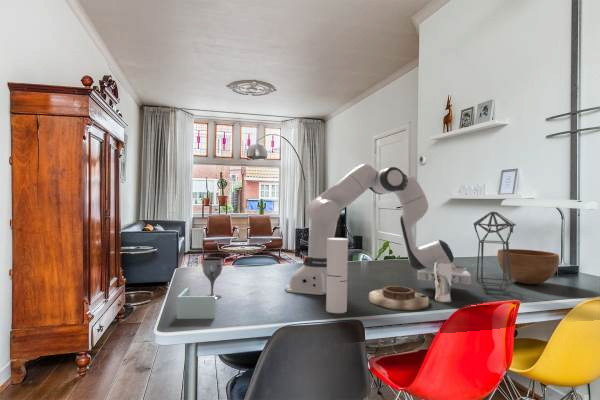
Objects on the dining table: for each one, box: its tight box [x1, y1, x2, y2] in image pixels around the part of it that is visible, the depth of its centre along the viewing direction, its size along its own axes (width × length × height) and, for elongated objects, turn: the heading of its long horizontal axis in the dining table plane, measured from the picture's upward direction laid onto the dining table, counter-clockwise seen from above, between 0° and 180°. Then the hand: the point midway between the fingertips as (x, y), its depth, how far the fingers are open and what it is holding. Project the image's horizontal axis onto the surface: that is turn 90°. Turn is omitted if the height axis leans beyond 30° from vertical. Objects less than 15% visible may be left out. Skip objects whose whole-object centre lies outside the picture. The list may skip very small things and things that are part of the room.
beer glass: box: [433, 261, 453, 303], centre depth 138 cm, size 7×7×15 cm
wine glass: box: [201, 256, 224, 300], centre depth 138 cm, size 8×8×15 cm
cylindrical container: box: [325, 237, 349, 314], centre depth 123 cm, size 7×7×25 cm
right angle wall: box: [176, 287, 217, 320], centre depth 119 cm, size 12×12×8 cm
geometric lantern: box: [472, 211, 517, 296], centre depth 154 cm, size 16×16×35 cm
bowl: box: [496, 248, 560, 285], centre depth 170 cm, size 25×25×15 cm
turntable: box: [368, 285, 430, 311], centre depth 136 cm, size 22×22×4 cm
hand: (442, 280), depth 137 cm, fingers closed on beer glass, 6 cm apart
